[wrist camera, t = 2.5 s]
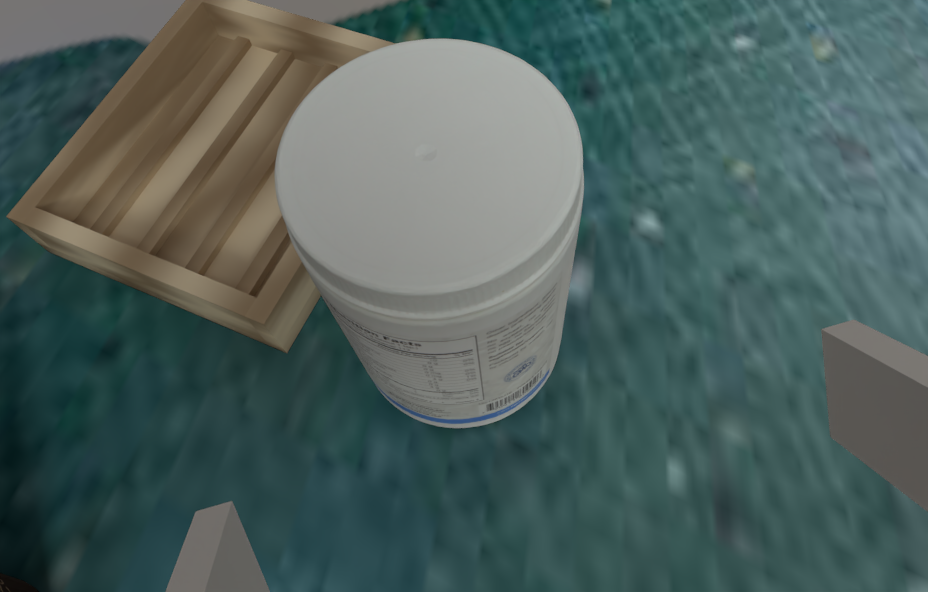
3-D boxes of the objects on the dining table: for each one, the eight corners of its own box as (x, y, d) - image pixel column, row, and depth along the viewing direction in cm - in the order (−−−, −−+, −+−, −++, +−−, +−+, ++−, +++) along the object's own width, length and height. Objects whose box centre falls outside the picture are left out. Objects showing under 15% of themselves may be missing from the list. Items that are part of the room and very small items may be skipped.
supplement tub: (397, 235, 37) (330, 8, 24) (578, 270, 35) (615, 49, 22) (336, 410, 33) (215, 256, 20) (537, 459, 31) (551, 327, 18)
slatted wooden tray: (48, 251, 38) (6, 216, 35) (220, 32, 44) (197, -15, 41) (287, 353, 34) (263, 324, 31) (436, 98, 41) (429, 53, 37)
